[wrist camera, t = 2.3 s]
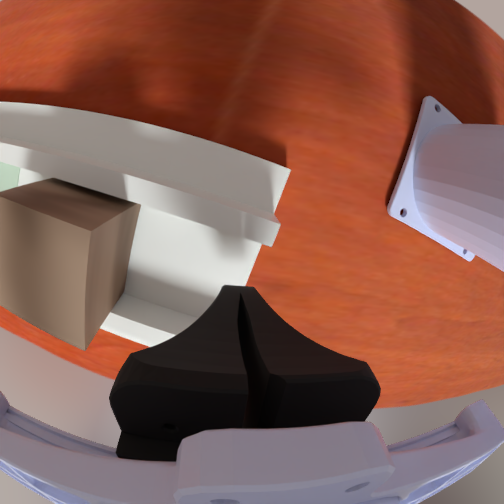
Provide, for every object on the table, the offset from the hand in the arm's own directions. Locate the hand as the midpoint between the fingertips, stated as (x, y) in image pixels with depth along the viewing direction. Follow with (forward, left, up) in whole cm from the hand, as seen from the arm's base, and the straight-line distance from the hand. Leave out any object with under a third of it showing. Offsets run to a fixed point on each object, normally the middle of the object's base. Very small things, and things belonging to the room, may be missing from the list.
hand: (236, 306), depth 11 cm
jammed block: (+8, 0, -2) cm, 8 cm away
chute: (+10, 0, -3) cm, 11 cm away
